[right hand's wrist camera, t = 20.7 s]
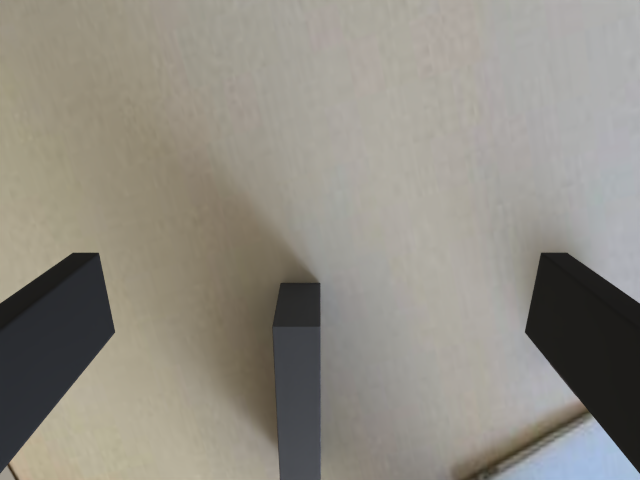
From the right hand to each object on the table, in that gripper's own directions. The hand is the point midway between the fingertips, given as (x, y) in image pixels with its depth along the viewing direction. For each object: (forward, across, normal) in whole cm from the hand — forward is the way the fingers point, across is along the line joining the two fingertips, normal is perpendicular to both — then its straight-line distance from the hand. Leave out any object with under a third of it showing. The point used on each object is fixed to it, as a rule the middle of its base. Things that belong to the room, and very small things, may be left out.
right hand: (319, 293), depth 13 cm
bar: (+27, -2, -25) cm, 37 cm away
